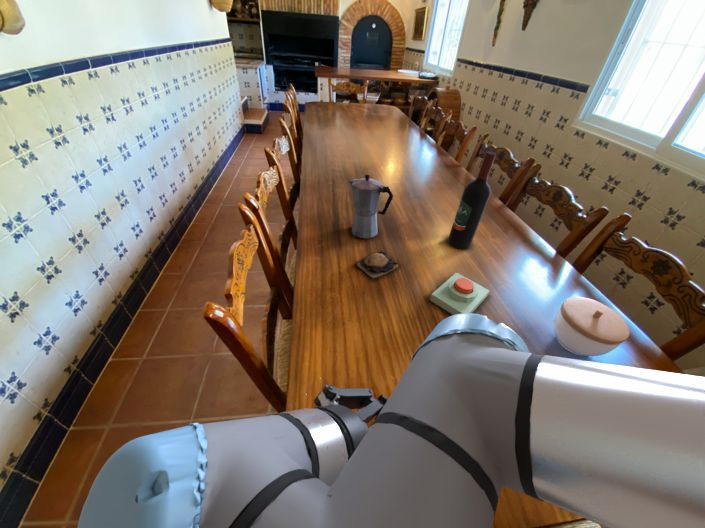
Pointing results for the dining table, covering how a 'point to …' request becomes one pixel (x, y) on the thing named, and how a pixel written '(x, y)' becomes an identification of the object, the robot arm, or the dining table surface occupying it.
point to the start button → (463, 286)
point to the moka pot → (367, 205)
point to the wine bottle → (472, 206)
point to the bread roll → (377, 264)
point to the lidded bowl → (589, 327)
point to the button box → (458, 297)
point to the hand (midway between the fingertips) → (410, 420)
